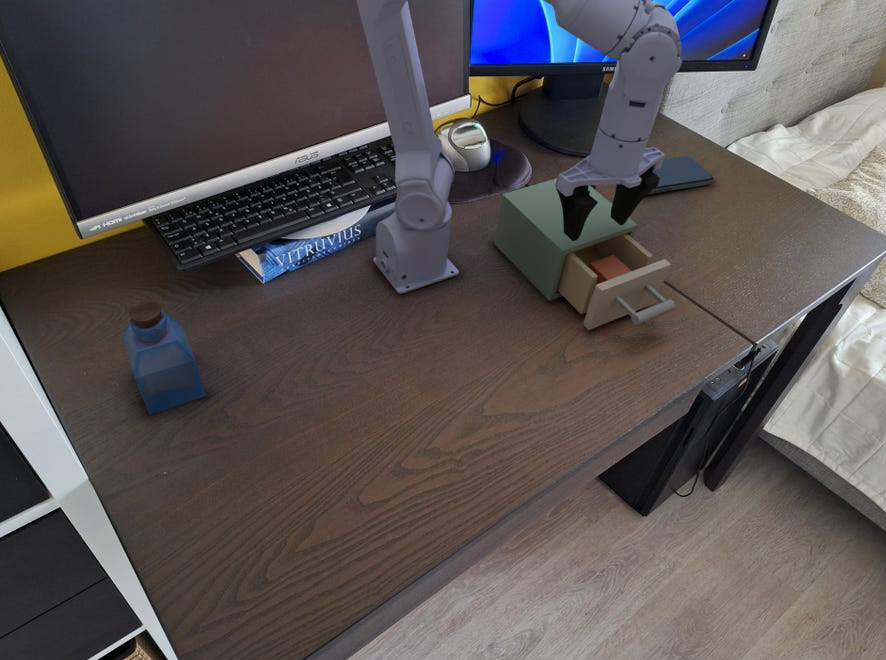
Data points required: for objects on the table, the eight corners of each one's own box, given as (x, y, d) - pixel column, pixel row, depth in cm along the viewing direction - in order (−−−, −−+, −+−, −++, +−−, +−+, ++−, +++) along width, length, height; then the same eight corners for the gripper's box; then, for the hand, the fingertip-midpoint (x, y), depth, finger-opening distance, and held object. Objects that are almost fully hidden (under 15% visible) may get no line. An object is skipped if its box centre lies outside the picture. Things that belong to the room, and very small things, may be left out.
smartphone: (716, 178, 111) (642, 189, 106) (712, 186, 112) (638, 198, 108) (689, 154, 116) (617, 164, 111) (685, 163, 117) (614, 173, 112)
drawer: (679, 325, 87) (698, 286, 82) (612, 354, 83) (627, 315, 78) (595, 250, 97) (607, 210, 92) (532, 272, 92) (541, 232, 87)
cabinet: (620, 274, 95) (638, 225, 88) (549, 301, 90) (562, 250, 84) (562, 222, 102) (574, 172, 96) (493, 244, 98) (502, 193, 91)
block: (601, 304, 87) (609, 281, 84) (582, 286, 90) (590, 263, 87) (625, 295, 89) (633, 272, 86) (605, 277, 91) (613, 254, 88)
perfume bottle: (191, 359, 79) (168, 282, 70) (206, 396, 76) (183, 320, 67) (137, 376, 77) (106, 299, 68) (149, 414, 74) (118, 339, 65)
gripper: (596, 160, 69) (568, 262, 80) (696, 132, 75) (658, 231, 85) (556, 128, 73) (533, 229, 83) (654, 104, 79) (622, 201, 89)
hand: (594, 228), depth 84 cm, fingers open, 7 cm apart
